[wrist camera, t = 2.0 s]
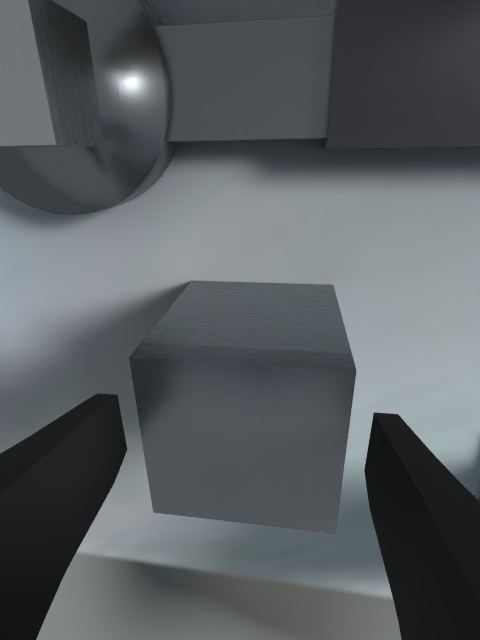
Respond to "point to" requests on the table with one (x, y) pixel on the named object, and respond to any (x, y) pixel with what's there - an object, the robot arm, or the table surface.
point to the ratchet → (220, 88)
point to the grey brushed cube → (247, 404)
